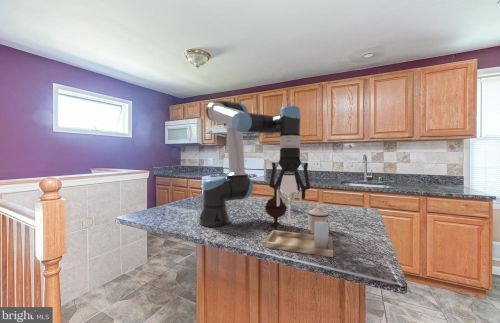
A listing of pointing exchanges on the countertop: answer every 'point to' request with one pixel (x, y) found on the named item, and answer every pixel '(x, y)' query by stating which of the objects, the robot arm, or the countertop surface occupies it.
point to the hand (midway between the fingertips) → (289, 206)
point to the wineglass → (289, 192)
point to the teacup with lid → (316, 217)
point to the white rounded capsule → (321, 234)
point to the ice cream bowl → (275, 210)
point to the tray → (296, 243)
